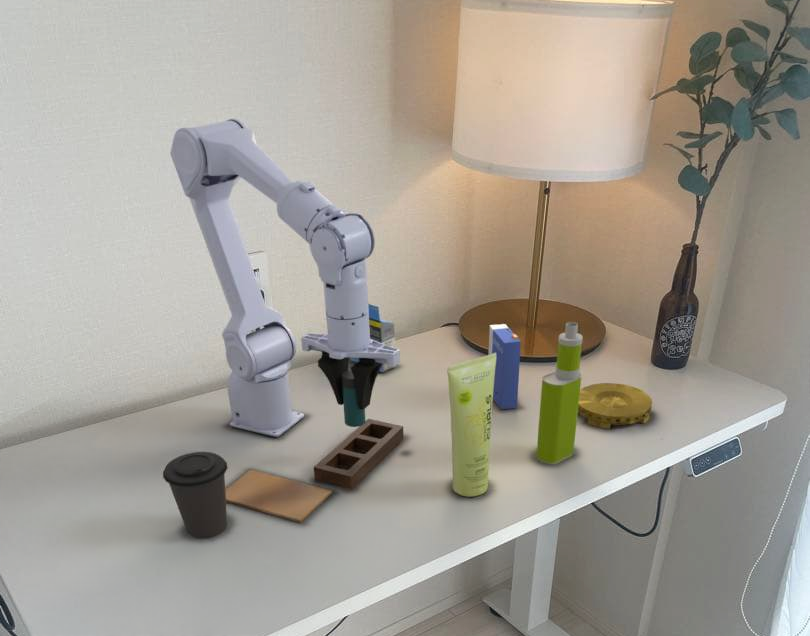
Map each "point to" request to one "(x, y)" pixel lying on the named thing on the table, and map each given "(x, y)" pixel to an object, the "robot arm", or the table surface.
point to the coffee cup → (199, 492)
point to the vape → (560, 400)
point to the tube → (471, 423)
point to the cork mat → (276, 495)
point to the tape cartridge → (380, 332)
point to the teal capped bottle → (351, 401)
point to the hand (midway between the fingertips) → (353, 404)
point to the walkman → (505, 365)
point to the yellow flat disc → (614, 404)
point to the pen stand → (356, 461)
